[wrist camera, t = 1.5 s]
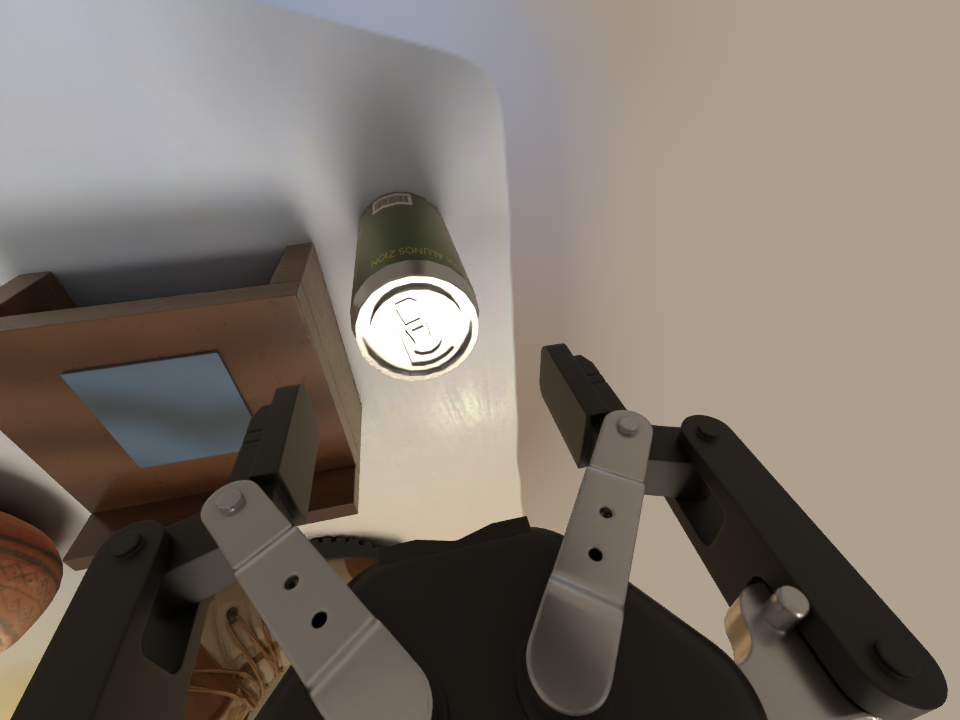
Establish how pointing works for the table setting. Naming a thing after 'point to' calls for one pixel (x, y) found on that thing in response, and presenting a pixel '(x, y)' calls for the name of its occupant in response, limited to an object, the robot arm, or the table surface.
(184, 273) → the table surface
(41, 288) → the wooden stand with backboard
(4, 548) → the bowl
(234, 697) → the shoe
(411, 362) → the beer can
